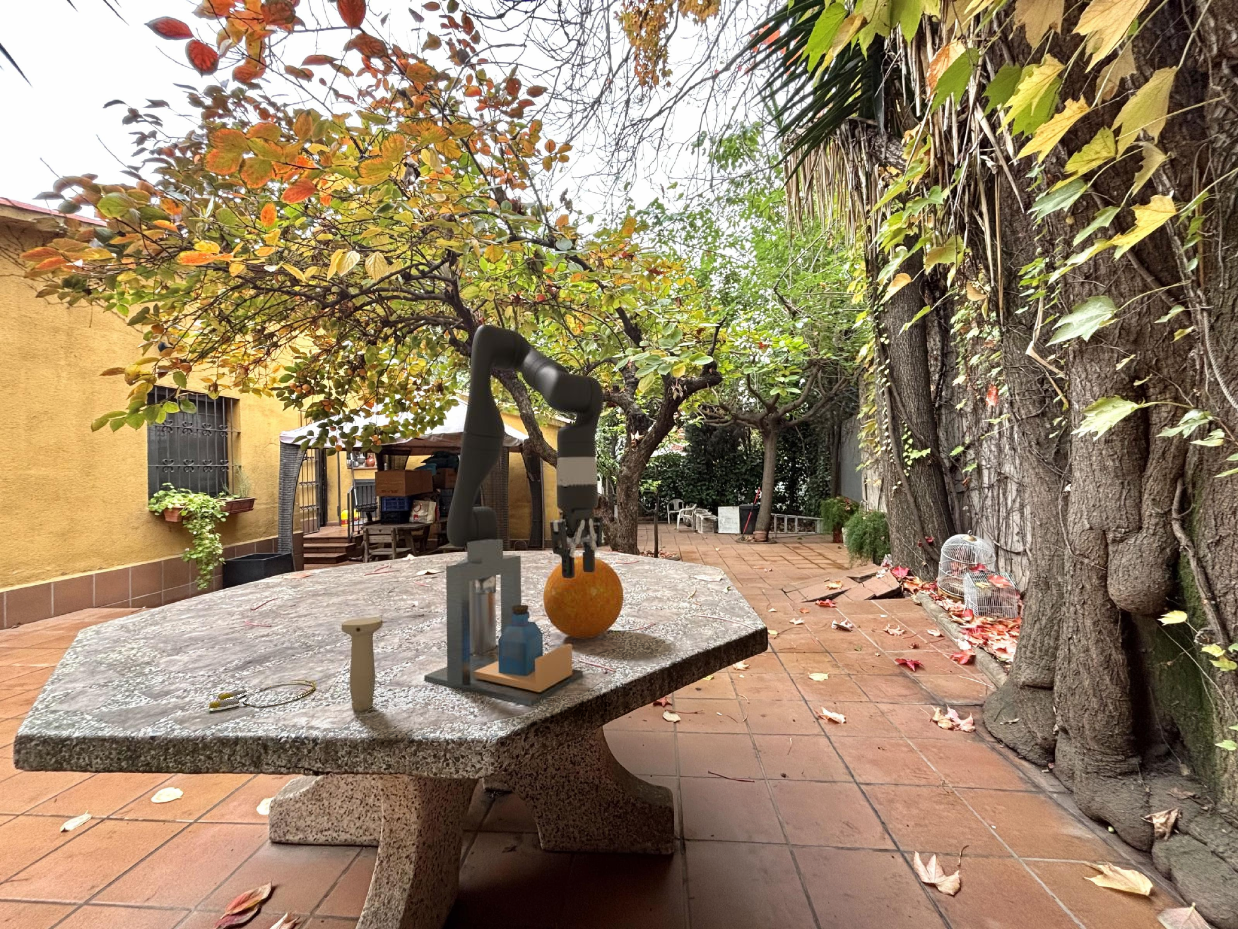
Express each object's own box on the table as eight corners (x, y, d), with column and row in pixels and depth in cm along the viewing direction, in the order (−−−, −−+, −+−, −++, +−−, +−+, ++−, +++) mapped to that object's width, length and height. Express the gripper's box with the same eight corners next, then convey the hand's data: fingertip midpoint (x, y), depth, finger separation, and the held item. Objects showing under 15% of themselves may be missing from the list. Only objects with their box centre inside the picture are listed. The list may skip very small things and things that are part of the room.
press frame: (422, 681, 105) (421, 543, 106) (484, 656, 119) (482, 535, 120) (529, 707, 91) (527, 549, 92) (584, 675, 106) (581, 539, 107)
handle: (347, 704, 94) (346, 619, 95) (385, 701, 95) (385, 616, 96) (338, 716, 89) (337, 626, 90) (378, 712, 91) (378, 623, 91)
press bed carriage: (474, 677, 102) (473, 647, 103) (509, 662, 111) (508, 634, 111) (539, 692, 95) (539, 659, 95) (572, 674, 103) (571, 644, 103)
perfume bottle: (543, 665, 105) (542, 604, 105) (526, 676, 99) (526, 611, 100) (515, 662, 107) (515, 602, 108) (498, 672, 101) (497, 609, 102)
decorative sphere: (545, 628, 142) (543, 552, 142) (619, 624, 144) (617, 550, 145) (542, 651, 122) (541, 563, 123) (629, 646, 124) (627, 560, 125)
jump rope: (240, 689, 104) (240, 679, 104) (325, 683, 106) (325, 673, 106) (199, 716, 92) (199, 704, 92) (296, 709, 94) (296, 697, 94)
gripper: (581, 482, 106) (583, 567, 105) (536, 483, 93) (537, 580, 92) (614, 482, 102) (616, 570, 101) (571, 482, 89) (573, 583, 89)
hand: (579, 574), depth 97 cm, fingers open, 6 cm apart
